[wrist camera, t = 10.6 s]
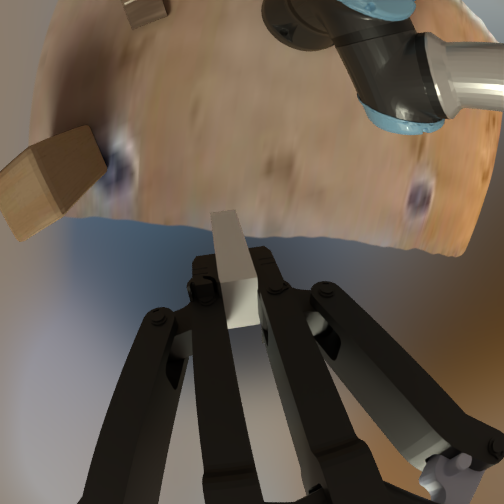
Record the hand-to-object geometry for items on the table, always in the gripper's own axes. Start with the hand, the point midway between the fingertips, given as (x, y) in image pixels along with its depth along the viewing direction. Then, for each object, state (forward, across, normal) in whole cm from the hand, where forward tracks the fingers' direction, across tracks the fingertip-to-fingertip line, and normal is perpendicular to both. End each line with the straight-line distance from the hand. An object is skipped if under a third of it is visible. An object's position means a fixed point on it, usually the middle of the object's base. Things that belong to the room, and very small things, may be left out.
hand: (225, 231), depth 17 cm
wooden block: (+33, -24, +2) cm, 41 cm away
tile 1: (+32, -8, +24) cm, 40 cm away
